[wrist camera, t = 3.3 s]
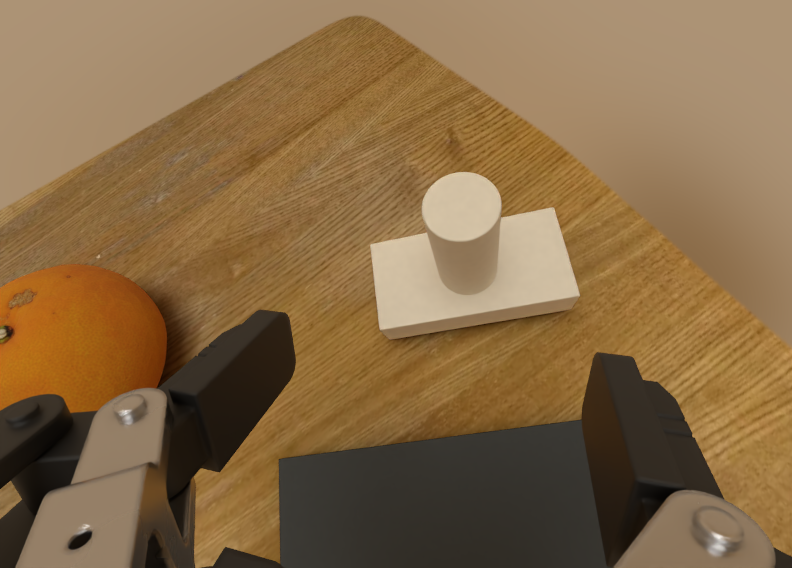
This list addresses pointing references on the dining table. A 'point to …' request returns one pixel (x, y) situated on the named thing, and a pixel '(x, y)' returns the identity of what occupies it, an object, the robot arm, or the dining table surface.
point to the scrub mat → (445, 503)
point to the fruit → (78, 337)
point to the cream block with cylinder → (471, 263)
